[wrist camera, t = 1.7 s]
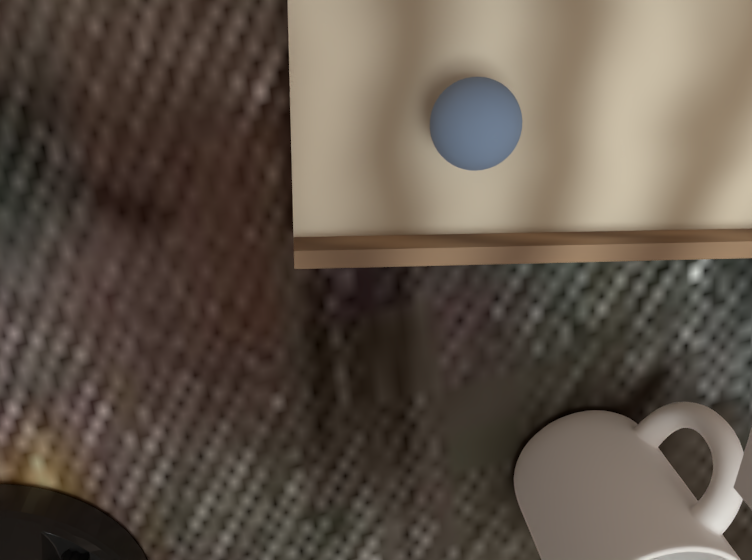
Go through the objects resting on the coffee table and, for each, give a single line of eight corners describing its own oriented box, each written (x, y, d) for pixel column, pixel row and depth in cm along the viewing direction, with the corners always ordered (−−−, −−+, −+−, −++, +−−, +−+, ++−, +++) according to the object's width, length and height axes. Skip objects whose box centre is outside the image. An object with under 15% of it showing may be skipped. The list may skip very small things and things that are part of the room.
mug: (618, 328, 37) (728, 457, 28) (723, 393, 40) (856, 530, 31) (480, 487, 41) (538, 647, 31) (585, 536, 43) (667, 697, 34)
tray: (293, 232, 33) (294, 269, 29) (285, -56, 28) (286, -56, 24) (886, 222, 36) (953, 253, 33) (979, -36, 31) (1069, -33, 27)
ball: (420, 156, 29) (436, 183, 26) (424, 68, 28) (442, 85, 25) (502, 156, 30) (528, 182, 26) (511, 69, 28) (540, 86, 25)
